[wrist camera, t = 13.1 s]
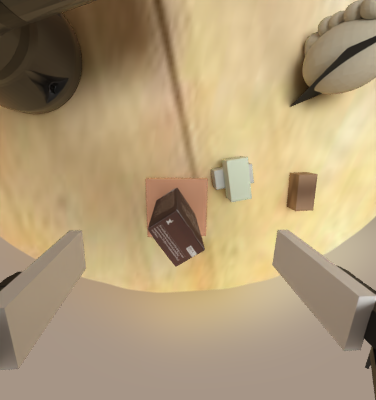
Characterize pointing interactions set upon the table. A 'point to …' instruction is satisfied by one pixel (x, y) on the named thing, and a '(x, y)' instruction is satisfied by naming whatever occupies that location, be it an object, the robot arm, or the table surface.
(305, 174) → the walnut brick
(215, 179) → the grey brick
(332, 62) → the decorative object
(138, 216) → the table surface
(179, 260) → the box
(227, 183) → the pale green brick
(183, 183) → the tile
